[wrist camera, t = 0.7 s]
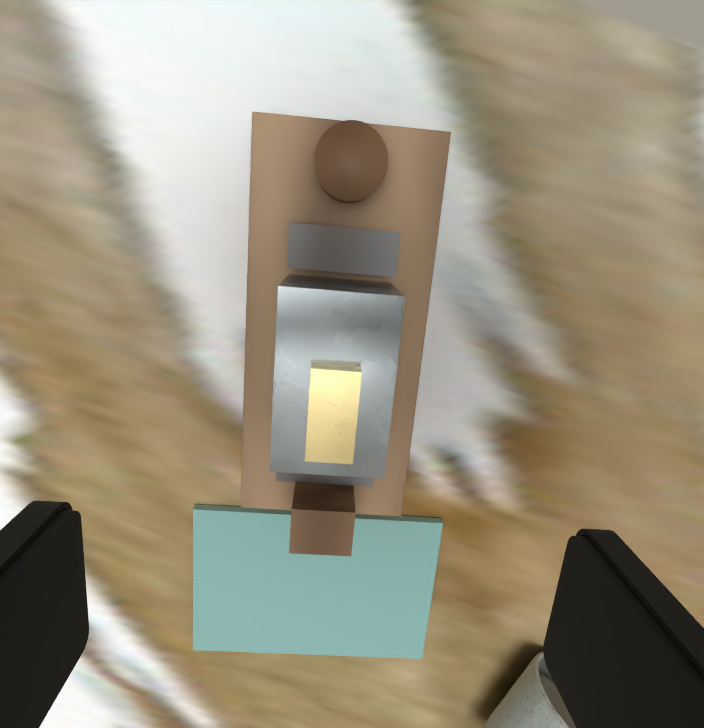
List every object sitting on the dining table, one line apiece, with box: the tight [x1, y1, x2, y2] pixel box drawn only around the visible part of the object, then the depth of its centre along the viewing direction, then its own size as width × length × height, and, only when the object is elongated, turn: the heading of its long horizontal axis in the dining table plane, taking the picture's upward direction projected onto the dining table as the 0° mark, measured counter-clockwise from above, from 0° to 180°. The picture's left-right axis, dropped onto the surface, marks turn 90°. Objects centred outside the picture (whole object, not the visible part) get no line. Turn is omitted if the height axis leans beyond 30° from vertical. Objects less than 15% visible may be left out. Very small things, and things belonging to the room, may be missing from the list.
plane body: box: [241, 112, 451, 556], centre depth 25 cm, size 9×20×8 cm, turn 175°
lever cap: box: [269, 274, 405, 479], centre depth 22 cm, size 5×8×6 cm, turn 175°
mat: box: [193, 504, 443, 659], centre depth 33 cm, size 16×11×1 cm
